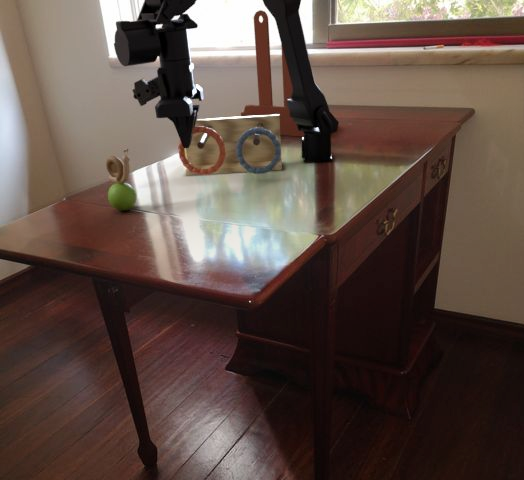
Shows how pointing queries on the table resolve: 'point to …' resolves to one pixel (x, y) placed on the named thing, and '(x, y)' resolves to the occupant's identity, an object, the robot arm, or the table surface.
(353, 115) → the table surface
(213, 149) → the peg rack
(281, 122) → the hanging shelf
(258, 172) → the slate ring
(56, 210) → the table surface
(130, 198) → the snail figurine
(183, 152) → the terracotta ring
